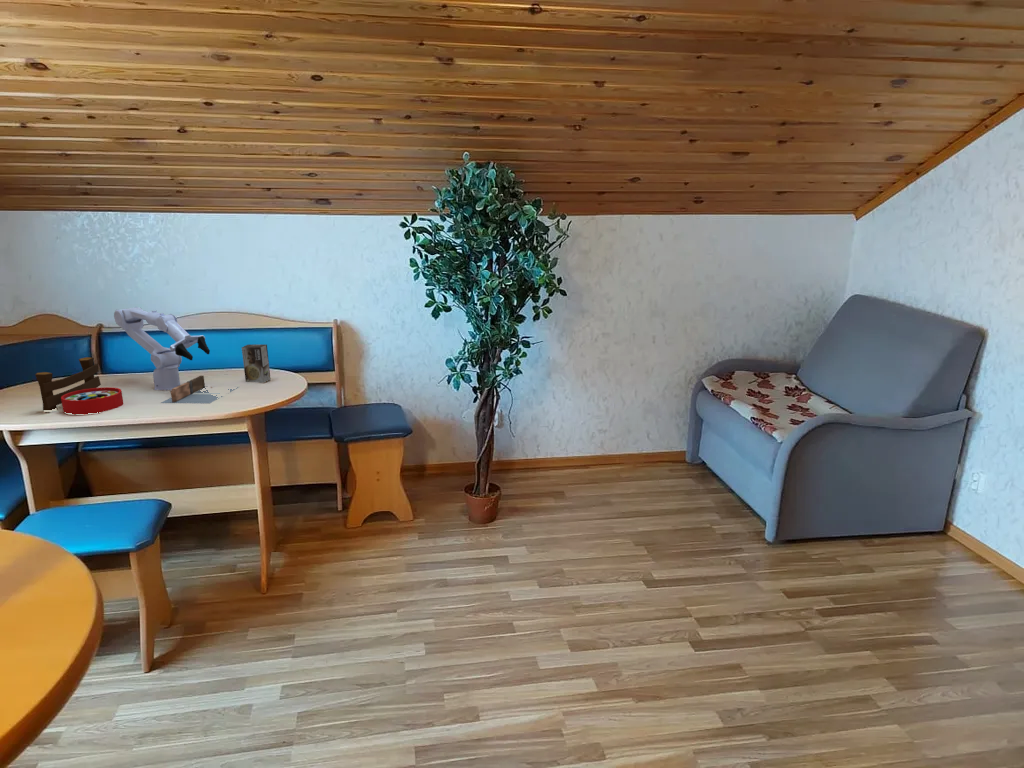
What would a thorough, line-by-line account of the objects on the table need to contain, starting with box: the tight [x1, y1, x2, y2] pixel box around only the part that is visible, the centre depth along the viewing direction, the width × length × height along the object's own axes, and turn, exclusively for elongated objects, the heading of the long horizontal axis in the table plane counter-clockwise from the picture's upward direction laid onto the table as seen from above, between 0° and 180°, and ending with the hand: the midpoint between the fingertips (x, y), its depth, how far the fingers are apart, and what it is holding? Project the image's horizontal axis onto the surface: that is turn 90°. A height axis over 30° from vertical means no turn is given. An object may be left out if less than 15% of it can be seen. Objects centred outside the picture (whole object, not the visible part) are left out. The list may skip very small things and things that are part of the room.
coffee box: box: [241, 343, 271, 383], centre depth 301 cm, size 9×6×16 cm
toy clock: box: [61, 386, 124, 414], centre depth 262 cm, size 20×6×20 cm
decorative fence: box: [34, 356, 102, 411], centre depth 270 cm, size 34×6×15 cm, turn 0°
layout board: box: [160, 386, 240, 405], centre depth 279 cm, size 20×26×1 cm
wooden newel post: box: [170, 381, 190, 402], centre depth 273 cm, size 12×2×5 cm, turn 177°
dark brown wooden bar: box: [186, 375, 206, 394], centre depth 285 cm, size 2×12×5 cm, turn 177°
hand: (200, 355), depth 277 cm, fingers open, 7 cm apart
